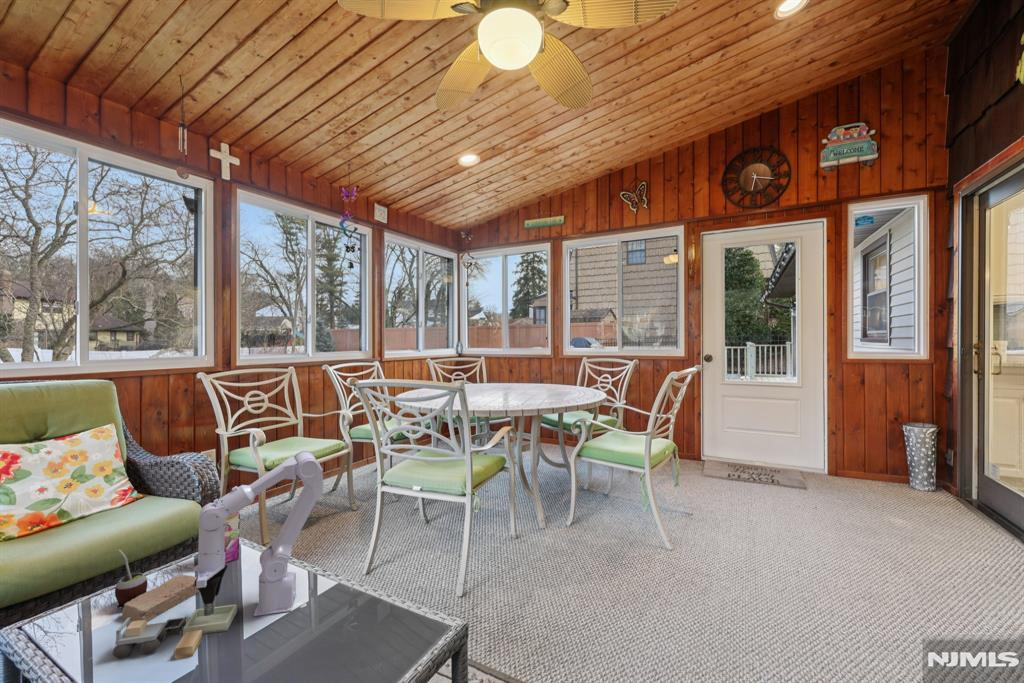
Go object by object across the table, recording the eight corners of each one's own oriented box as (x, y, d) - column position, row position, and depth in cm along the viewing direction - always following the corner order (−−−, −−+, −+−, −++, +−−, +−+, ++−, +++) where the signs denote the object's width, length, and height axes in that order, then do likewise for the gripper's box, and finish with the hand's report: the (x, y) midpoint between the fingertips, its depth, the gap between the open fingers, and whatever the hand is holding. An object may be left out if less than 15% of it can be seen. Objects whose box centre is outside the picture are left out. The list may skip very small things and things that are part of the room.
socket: (186, 623, 119) (186, 617, 119) (179, 634, 115) (179, 627, 115) (167, 626, 118) (167, 619, 118) (160, 636, 114) (160, 630, 114)
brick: (141, 627, 118) (142, 609, 118) (120, 620, 120) (120, 603, 120) (201, 592, 134) (202, 577, 134) (181, 587, 136) (181, 572, 136)
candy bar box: (201, 571, 144) (201, 521, 144) (197, 565, 148) (197, 517, 147) (240, 559, 152) (240, 512, 152) (235, 554, 156) (236, 508, 156)
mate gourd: (141, 610, 125) (141, 557, 124) (105, 615, 122) (105, 561, 121) (151, 595, 131) (152, 545, 131) (118, 600, 129) (118, 549, 128)
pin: (217, 609, 121) (217, 584, 121) (213, 616, 118) (213, 590, 118) (204, 610, 120) (205, 585, 120) (200, 617, 118) (200, 592, 117)
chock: (201, 640, 114) (202, 629, 113) (192, 657, 108) (192, 645, 108) (185, 643, 112) (185, 632, 112) (175, 660, 107) (175, 648, 107)
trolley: (167, 638, 113) (167, 612, 113) (157, 653, 108) (157, 625, 108) (125, 644, 111) (125, 617, 111) (112, 659, 106) (112, 631, 106)
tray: (236, 611, 125) (237, 604, 125) (227, 630, 117) (227, 622, 117) (195, 617, 122) (195, 609, 122) (183, 636, 114) (183, 628, 114)
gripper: (205, 538, 125) (204, 586, 125) (182, 565, 111) (182, 618, 111) (233, 535, 127) (232, 582, 127) (214, 561, 113) (214, 614, 113)
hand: (211, 599), depth 119 cm, fingers closed on pin, 3 cm apart
